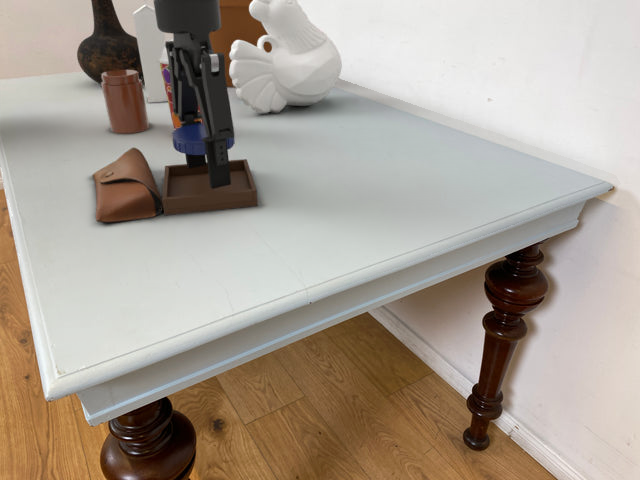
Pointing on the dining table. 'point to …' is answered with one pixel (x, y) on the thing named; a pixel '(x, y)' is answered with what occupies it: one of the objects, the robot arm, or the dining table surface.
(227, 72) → the flowerpot
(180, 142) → the lid
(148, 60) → the milk
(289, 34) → the decorative rooster
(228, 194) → the tray
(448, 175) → the dining table surface
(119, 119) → the jar
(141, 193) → the sunglasses case
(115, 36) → the dark brown vase
